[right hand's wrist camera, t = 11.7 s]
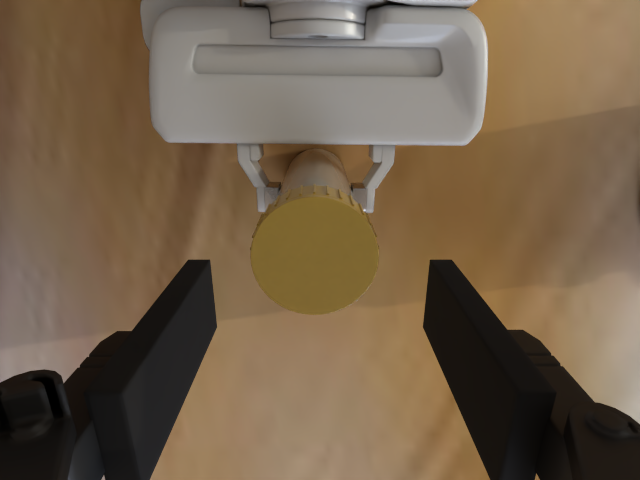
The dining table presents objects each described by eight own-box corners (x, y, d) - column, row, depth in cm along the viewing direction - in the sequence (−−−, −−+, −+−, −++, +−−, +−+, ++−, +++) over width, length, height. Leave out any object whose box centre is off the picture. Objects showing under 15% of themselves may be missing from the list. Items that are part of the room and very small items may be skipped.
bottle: (355, 163, 33) (390, 227, 17) (330, 215, 35) (341, 319, 19) (300, 138, 32) (283, 182, 16) (277, 193, 34) (242, 281, 18)
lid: (394, 212, 19) (403, 227, 17) (343, 309, 21) (346, 333, 18) (282, 163, 18) (277, 172, 16) (239, 269, 20) (230, 289, 18)
